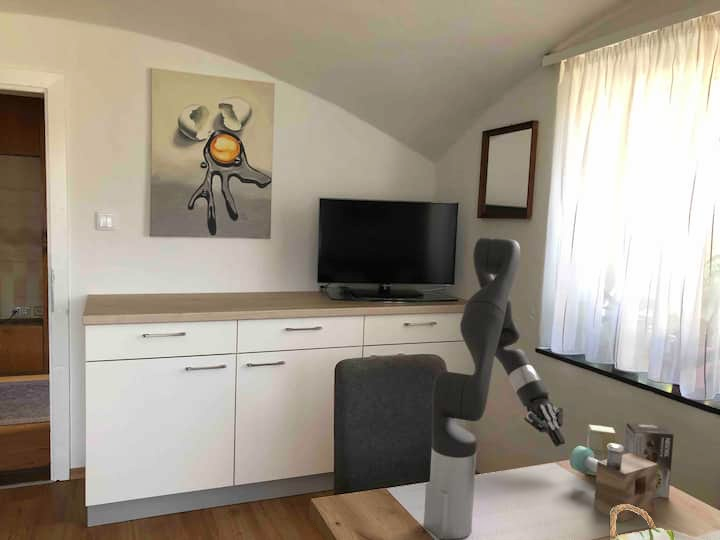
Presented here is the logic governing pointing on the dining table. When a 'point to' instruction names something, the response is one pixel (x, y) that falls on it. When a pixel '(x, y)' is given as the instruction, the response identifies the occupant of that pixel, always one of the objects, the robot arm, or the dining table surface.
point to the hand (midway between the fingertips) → (560, 444)
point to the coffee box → (652, 450)
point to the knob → (583, 460)
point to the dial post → (614, 456)
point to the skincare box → (599, 442)
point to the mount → (626, 485)
